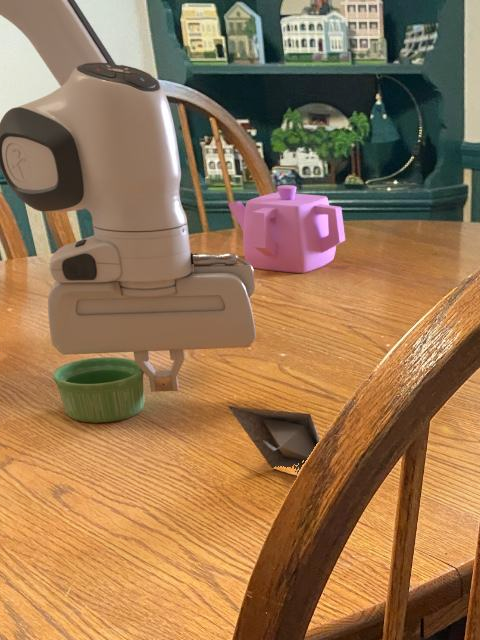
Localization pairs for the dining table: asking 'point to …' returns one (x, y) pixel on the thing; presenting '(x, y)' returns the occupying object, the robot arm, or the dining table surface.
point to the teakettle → (289, 230)
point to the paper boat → (279, 434)
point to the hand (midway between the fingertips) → (165, 389)
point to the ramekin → (101, 389)
